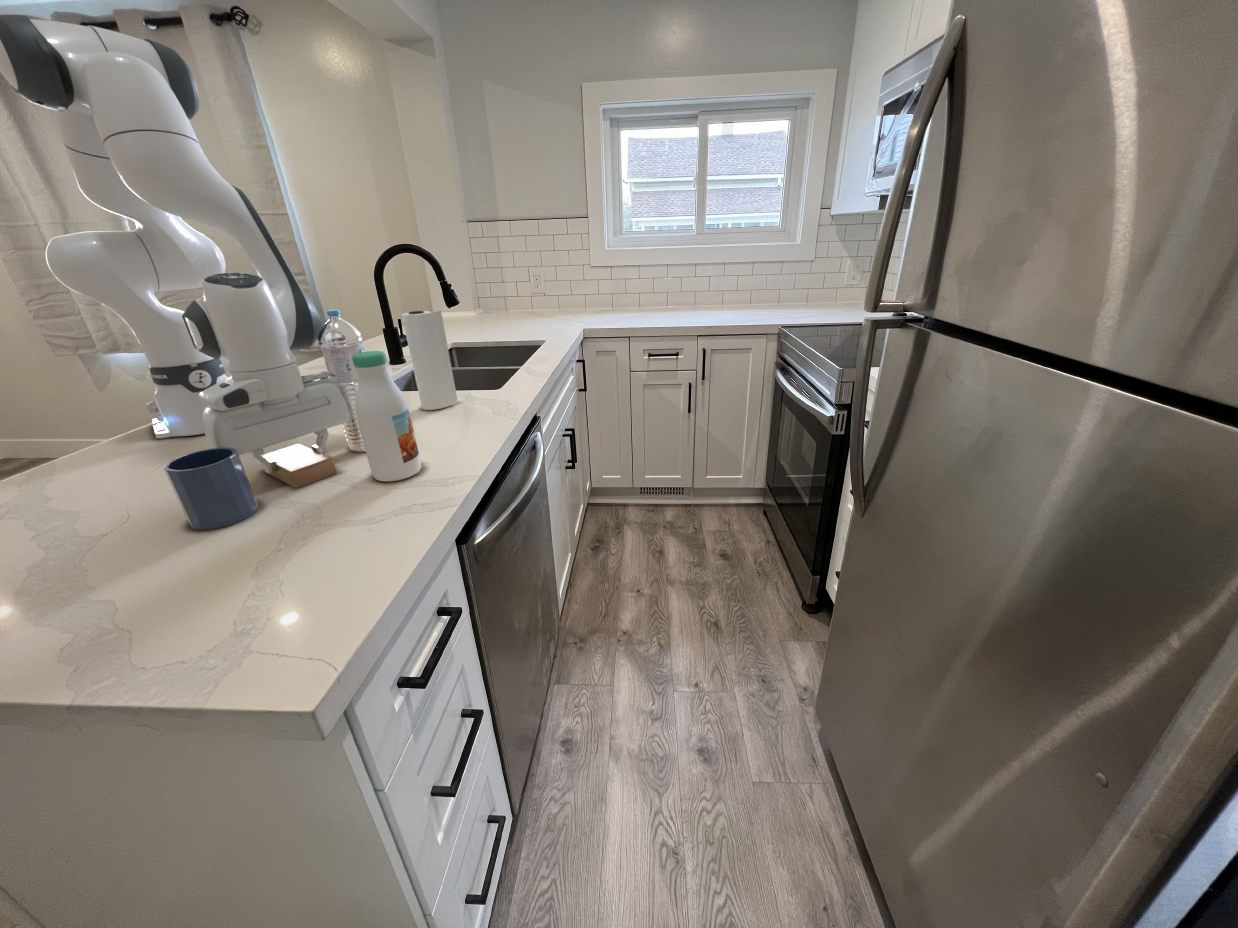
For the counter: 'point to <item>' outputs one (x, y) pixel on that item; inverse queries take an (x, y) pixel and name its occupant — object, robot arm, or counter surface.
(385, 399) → the milk bottle
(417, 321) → the paper towel roll
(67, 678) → the counter surface
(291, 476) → the wooden block
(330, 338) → the water bottle
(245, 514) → the cup
